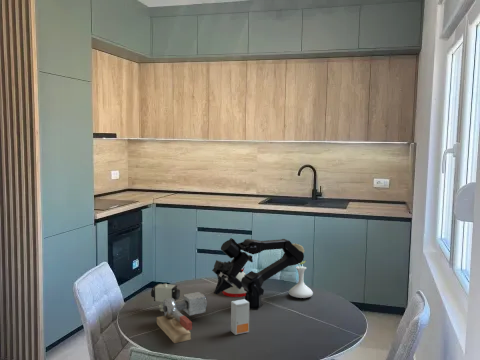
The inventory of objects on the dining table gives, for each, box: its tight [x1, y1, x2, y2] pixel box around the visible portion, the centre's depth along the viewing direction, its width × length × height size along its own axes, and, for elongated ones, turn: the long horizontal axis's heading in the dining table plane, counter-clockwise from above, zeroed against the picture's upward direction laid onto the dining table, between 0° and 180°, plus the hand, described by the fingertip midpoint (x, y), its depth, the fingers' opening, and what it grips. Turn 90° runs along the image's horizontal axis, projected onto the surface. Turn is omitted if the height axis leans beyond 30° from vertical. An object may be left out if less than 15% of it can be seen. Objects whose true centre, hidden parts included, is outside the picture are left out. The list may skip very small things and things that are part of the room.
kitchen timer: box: [221, 266, 247, 298], centre depth 217 cm, size 14×14×15 cm
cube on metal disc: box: [182, 291, 208, 316], centre depth 185 cm, size 8×7×7 cm
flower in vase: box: [288, 243, 314, 299], centre depth 211 cm, size 13×11×25 cm
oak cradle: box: [156, 315, 192, 344], centre depth 173 cm, size 7×20×5 cm, turn 29°
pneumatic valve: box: [150, 283, 181, 313], centre depth 194 cm, size 6×12×12 cm, turn 76°
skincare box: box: [230, 298, 250, 336], centre depth 172 cm, size 6×4×12 cm
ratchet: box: [163, 298, 193, 331], centre depth 174 cm, size 10×24×8 cm, turn 29°
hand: (215, 293), depth 189 cm, fingers closed
